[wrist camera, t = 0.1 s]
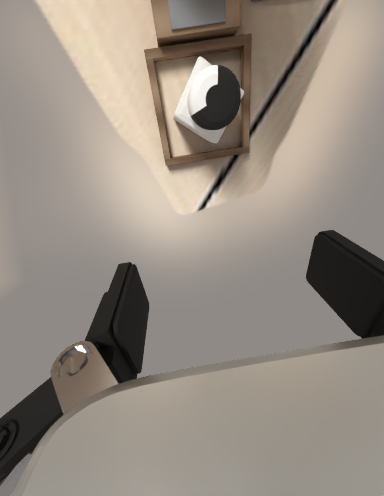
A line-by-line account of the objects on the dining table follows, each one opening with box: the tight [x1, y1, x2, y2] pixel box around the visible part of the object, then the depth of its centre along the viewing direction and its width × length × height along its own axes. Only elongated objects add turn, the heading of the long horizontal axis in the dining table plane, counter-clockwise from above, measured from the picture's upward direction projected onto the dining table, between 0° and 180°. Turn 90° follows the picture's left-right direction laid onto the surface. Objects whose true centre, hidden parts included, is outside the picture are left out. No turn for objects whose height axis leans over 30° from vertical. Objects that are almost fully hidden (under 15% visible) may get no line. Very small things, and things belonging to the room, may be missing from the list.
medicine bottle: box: [174, 56, 244, 144], centre depth 27 cm, size 7×7×12 cm
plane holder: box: [144, 0, 251, 166], centre depth 27 cm, size 26×15×6 cm, turn 8°
